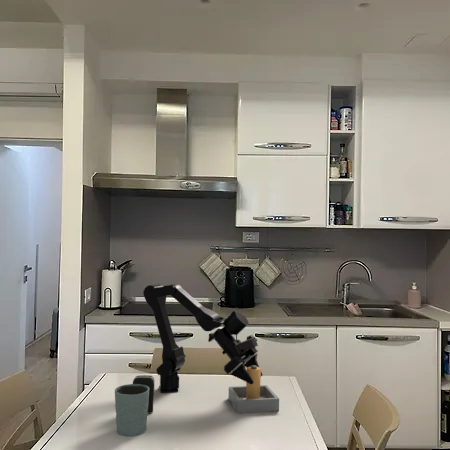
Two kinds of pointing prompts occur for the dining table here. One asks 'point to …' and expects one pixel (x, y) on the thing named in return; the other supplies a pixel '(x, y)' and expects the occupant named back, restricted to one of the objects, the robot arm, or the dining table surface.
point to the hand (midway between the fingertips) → (257, 379)
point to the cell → (254, 388)
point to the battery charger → (150, 383)
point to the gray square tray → (253, 400)
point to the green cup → (131, 409)
